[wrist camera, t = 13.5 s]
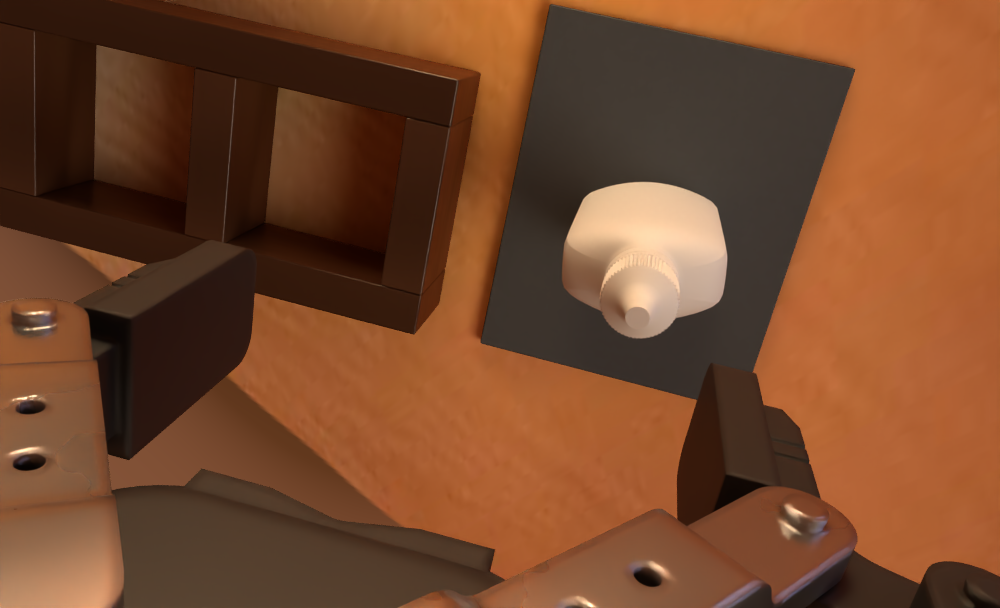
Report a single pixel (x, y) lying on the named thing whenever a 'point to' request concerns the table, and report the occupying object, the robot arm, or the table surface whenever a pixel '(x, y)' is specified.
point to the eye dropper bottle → (645, 256)
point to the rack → (228, 149)
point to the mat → (660, 159)
